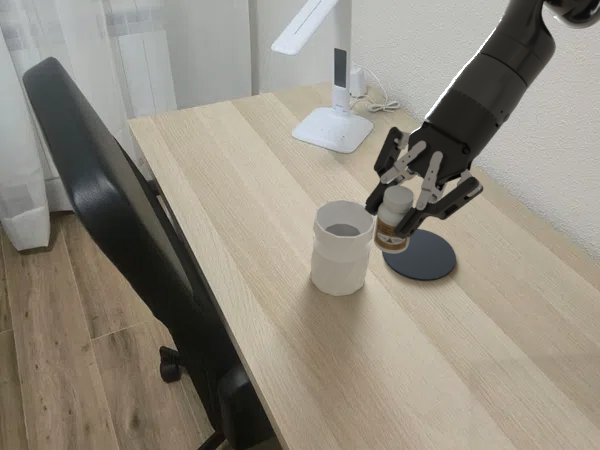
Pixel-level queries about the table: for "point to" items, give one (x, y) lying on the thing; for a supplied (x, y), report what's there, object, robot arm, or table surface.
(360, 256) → the vase
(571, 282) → the table surface
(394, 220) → the pill bottle
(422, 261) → the rubber mat
